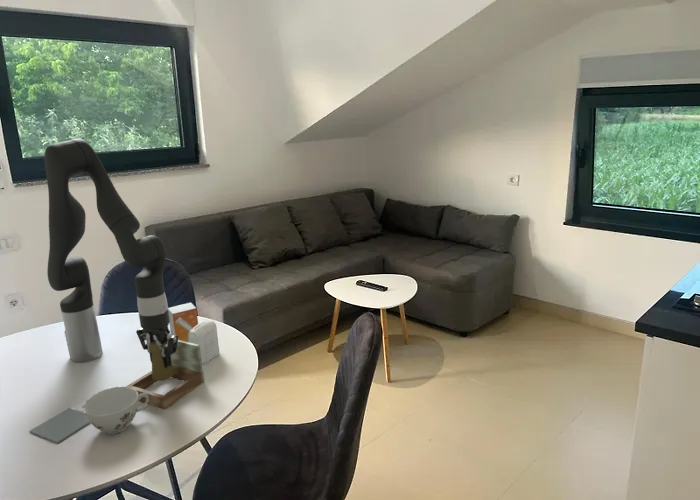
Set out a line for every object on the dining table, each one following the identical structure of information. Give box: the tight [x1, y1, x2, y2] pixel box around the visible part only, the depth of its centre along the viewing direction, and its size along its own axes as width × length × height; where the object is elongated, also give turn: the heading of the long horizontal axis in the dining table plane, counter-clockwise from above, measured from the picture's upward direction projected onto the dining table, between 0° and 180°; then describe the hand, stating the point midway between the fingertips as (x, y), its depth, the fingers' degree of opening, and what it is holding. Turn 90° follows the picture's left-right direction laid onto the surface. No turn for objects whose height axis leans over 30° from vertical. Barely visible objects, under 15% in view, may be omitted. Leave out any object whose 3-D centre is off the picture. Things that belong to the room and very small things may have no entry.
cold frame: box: [125, 340, 205, 411], centre depth 146 cm, size 14×15×12 cm
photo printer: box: [188, 320, 220, 366], centre depth 162 cm, size 10×4×12 cm, turn 155°
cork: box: [149, 341, 174, 382], centre depth 144 cm, size 6×6×11 cm
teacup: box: [82, 386, 149, 435], centre depth 131 cm, size 15×12×8 cm
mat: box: [29, 407, 91, 444], centre depth 133 cm, size 11×11×1 cm
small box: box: [168, 302, 199, 342], centre depth 174 cm, size 8×6×13 cm
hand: (161, 364), depth 145 cm, fingers closed on cork, 4 cm apart
